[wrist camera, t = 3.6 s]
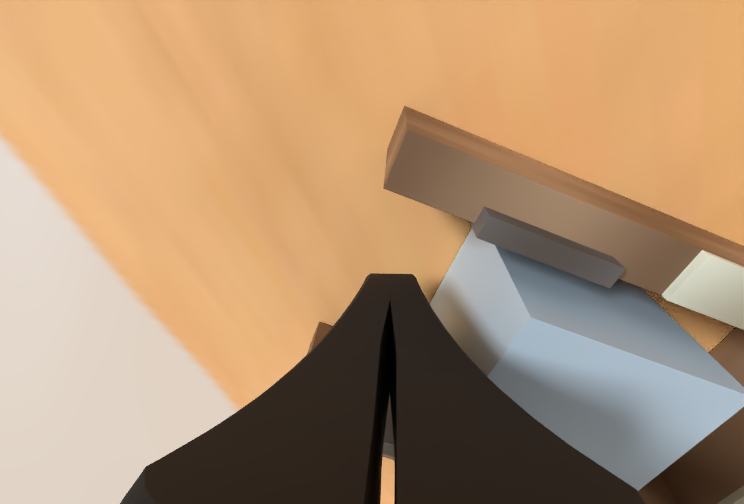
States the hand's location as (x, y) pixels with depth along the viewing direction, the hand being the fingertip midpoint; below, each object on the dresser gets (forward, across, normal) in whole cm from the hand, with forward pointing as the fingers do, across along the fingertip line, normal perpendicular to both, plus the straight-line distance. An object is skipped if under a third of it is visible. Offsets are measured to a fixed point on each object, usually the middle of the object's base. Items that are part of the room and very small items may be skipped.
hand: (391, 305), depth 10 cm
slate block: (+2, -4, +2) cm, 5 cm away
